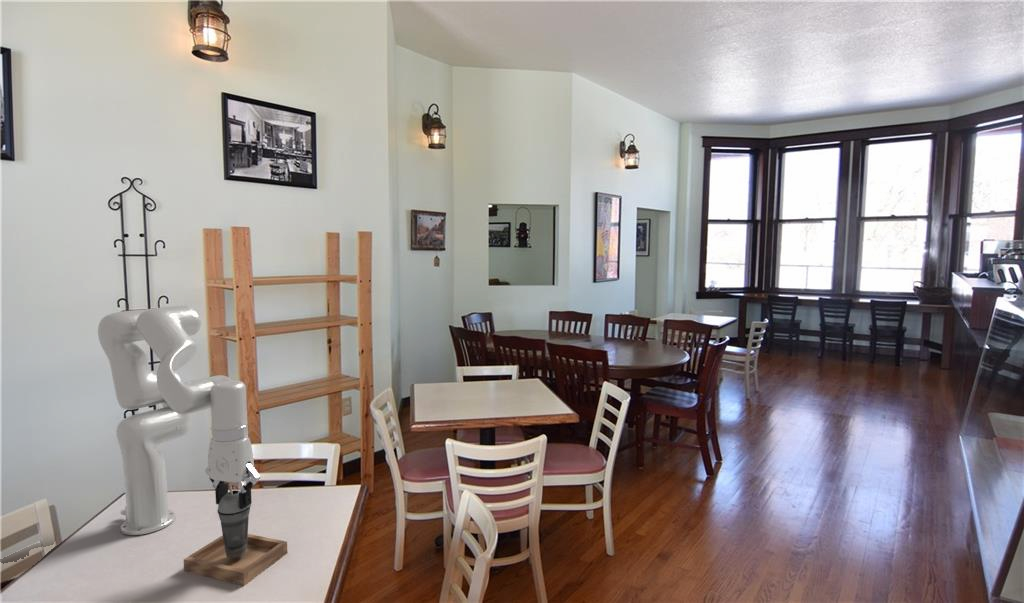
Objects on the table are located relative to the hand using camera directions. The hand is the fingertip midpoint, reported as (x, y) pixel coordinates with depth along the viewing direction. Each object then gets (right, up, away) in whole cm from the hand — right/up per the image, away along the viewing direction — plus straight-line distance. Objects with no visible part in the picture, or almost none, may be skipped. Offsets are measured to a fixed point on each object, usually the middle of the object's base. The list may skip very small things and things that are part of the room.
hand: (233, 503), depth 132 cm
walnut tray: (0, -15, +1) cm, 15 cm away
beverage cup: (0, -13, +1) cm, 13 cm away
